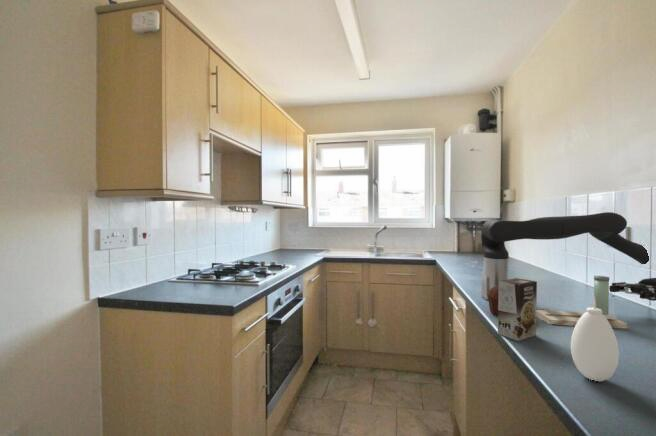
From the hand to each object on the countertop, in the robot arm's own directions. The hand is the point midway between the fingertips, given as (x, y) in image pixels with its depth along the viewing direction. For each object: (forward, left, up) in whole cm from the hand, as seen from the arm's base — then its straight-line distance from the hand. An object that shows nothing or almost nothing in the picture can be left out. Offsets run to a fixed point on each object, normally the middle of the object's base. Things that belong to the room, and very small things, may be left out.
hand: (625, 292), depth 103 cm
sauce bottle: (-36, -44, -10) cm, 57 cm away
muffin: (-38, -1, -10) cm, 39 cm away
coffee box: (-42, -20, -10) cm, 47 cm away
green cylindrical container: (-10, -4, -7) cm, 13 cm away
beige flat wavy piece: (-17, -4, -9) cm, 20 cm away
